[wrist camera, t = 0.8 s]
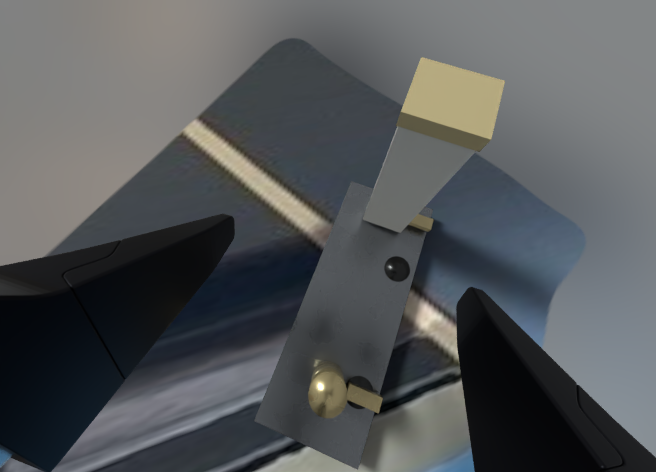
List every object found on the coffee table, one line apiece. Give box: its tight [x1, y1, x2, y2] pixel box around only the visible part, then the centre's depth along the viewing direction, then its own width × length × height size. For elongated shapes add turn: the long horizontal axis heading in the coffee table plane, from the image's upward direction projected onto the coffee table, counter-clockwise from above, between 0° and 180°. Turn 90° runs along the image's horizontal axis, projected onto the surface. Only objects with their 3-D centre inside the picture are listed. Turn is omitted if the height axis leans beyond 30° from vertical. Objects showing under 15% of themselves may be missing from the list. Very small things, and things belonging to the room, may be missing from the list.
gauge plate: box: [254, 181, 433, 469], centre depth 20 cm, size 21×8×6 cm, turn 159°
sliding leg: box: [363, 58, 505, 233], centre depth 17 cm, size 3×6×13 cm, turn 69°
